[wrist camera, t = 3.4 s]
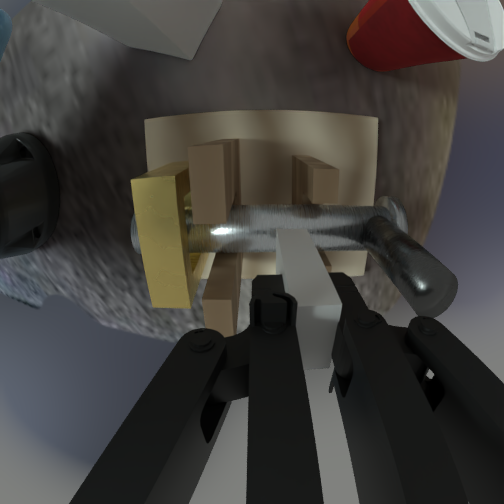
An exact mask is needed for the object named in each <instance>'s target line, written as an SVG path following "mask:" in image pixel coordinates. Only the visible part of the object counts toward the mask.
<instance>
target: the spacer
mask: <svg viewBox="0 0 504 504" xmlns="http://www.w3.org/2000/svg"><path fill="white" fill-rule="evenodd" d="M131 187H132V195H133V203H134V210H135V217H136V224H137V230H138V236H139V242H140V248H141V253H142V259H143V264H144V269H145V274H146V279H147V283H148V288H149V292H150V297H151V301H152V305H153V307H160V308H191V306H192V303H193V300H194V297H195V294H196V291H197V288H198V285H199V282H200V279H201V276H202V273H203V270H204V268H205V265H206V262H207V259H208V256H209V253H189V244H188V235H187V225H186V215H185V207H190V206H192V202H191V189H190V175H189V161H178V162H171V163H168V164H166V165H163V166H161V167H159V168H156V169H154V170H151V171H149V172H147V173H144V174H142V175H140V176H138V177H135V178H133V179H131Z"/></svg>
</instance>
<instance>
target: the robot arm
mask: <svg viewBox="0 0 504 504" xmlns="http://www.w3.org/2000/svg"><path fill="white" fill-rule="evenodd" d="M11 32H12V21H11V18H10V17H9V15H8V14H7V13H6V12H5V11H3V10H2V9H0V61H1V58H2V56H3V53H4V51H5V48H6V46H7V43H8V41H9V38H10V36H11ZM58 213H59V185H58V179H57V174H56V171H55V167H54V164H53V162H52V159H51V157H50V155H49V153H48V151H47V150H46V148H45V147H44V146H43V144H42V143H41V142H40V141H39V140H38V139H37V138H35V137H34V136H32V135H30V134H27V133H16V134H10V135H6V136H3V137H1V138H0V259H3V258H8V257H13V256H18V255H23V254H27V253H30V252H32V251H34V250H35V249H37V248H38V247H39V246H41V245H42V244H44V243H45V242H46V241H47V240H48V239H49V237H50V236H51V234H52V233H53V230H54V228H55V226H56V222H57V218H58ZM249 305H250V325H249V326H248V328H247V329H245V330H244V331H243V332H241V333H239V334H236V335H233V336H229V337H224V336H223V335H222V334H221V333H219V332H218V331H216V330H213V329H207V328H200V329H195V330H192V331H190V332H188V333H186V334H184V335H183V336H182V337H181V338H180V340H179V341H178V343H177V344H176V346H175V347H174V349H173V350H172V351H171V353H170V354H169V356H168V357H167V359H166V360H165V362H164V363H163V364H162V366H161V367H160V369H159V370H158V372H157V373H156V375H155V376H154V378H153V379H152V381H151V382H150V384H149V385H148V386H147V388H146V389H145V391H144V392H143V394H142V395H141V397H140V398H139V400H138V401H137V403H136V404H135V406H134V407H133V408H132V410H131V411H130V413H129V415H128V416H127V417H126V419H125V420H124V422H123V424H122V425H121V427H120V428H119V429H118V431H117V432H116V434H115V435H114V437H113V438H112V440H111V441H110V443H109V444H108V446H107V447H106V449H105V450H104V452H103V453H102V455H101V456H100V458H99V459H98V461H97V462H96V464H95V465H94V467H93V468H92V470H91V471H90V473H89V474H88V476H87V477H86V479H85V481H84V482H83V483H82V485H81V486H80V488H79V489H78V491H77V492H76V494H75V495H74V497H73V499H72V500H71V502H70V503H69V504H189V502H190V499H191V497H192V495H193V493H194V491H195V488H196V486H197V484H198V481H199V479H200V477H201V475H202V472H203V470H204V468H205V465H206V463H207V461H208V458H209V456H210V453H211V451H212V449H213V446H214V444H215V442H216V439H217V437H218V434H219V432H220V430H221V427H222V425H223V422H224V420H225V417H226V415H227V413H228V410H229V408H230V405H231V401H233V400H237V399H241V398H244V397H248V396H249V402H248V447H247V451H248V452H247V492H246V504H324V502H323V494H322V486H321V478H320V471H319V464H318V457H317V450H316V443H315V437H314V430H313V423H312V417H311V411H310V405H309V398H308V393H307V386H306V380H305V374H304V370H309V369H323V368H329V367H330V363H331V359H333V363H334V366H335V367H334V371H333V375H332V378H331V382H330V386H329V393H332V390H333V387H335V391H336V395H337V400H338V404H339V407H340V412H341V416H342V421H343V425H344V429H345V434H346V438H347V443H348V448H349V452H350V457H351V462H352V467H353V471H354V476H355V482H356V487H357V492H358V498H359V503H360V504H504V384H503V382H502V381H501V380H500V379H499V378H498V377H497V376H496V375H495V374H494V373H493V372H492V371H491V370H490V369H489V368H488V367H487V366H486V365H485V364H484V363H483V362H482V361H481V360H480V359H479V358H478V357H477V356H476V355H474V353H472V352H471V350H469V349H468V348H467V347H466V346H465V345H464V344H463V343H462V342H461V341H460V340H459V339H458V338H457V337H456V336H454V335H453V334H452V333H451V332H450V331H449V330H448V329H447V328H446V327H445V326H444V325H442V324H441V323H440V322H439V321H437V320H435V319H433V318H431V317H427V316H418V317H415V318H413V319H412V320H411V321H410V323H409V326H408V328H406V327H397V326H391V325H388V324H387V322H386V321H385V319H384V318H383V317H382V316H381V315H380V314H378V313H377V312H375V311H372V310H369V309H368V307H367V306H366V304H365V302H364V300H363V298H362V297H361V295H360V293H359V292H358V289H357V288H356V286H355V284H354V282H353V281H352V279H351V278H350V277H349V276H347V275H346V274H345V273H343V272H327V270H326V268H325V265H324V263H323V261H322V259H321V257H320V255H319V253H318V251H317V249H316V247H315V245H314V243H313V241H312V238H311V236H310V234H309V232H308V230H307V229H277V232H276V275H257V276H256V277H255V278H254V280H253V281H252V298H251V301H250V304H249ZM429 369H430V370H431V371H432V372H433V373H434V376H433V378H432V379H429V378H428V377H427V376H426V374H427V372H428V370H429ZM468 502H469V503H468Z"/></svg>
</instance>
